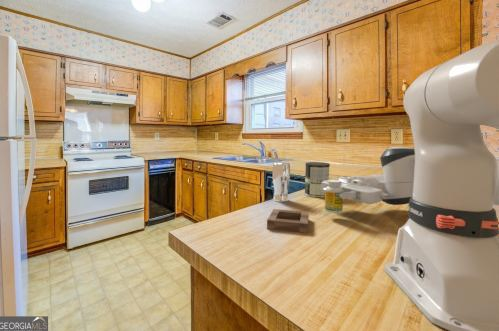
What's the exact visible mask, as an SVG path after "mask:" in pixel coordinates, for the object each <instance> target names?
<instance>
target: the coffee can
mask: <svg viewBox="0 0 499 331" xmlns="http://www.w3.org/2000/svg"><path fill="white" fill-rule="evenodd" d="M330 165H331V164H330V162H329V163H328V162H319V161H317V162H316V161H315V162H314V161H312V162H310V161H309V162H305V178H304V181H305V182H304V195H305V196H306V197H311V198H325V194H324V193H322V191H321V184H322V182H323V181H325V180H330Z"/></svg>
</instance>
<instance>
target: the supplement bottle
mask: <svg viewBox="0 0 499 331" xmlns="http://www.w3.org/2000/svg"><path fill="white" fill-rule="evenodd" d="M328 185H329V186H328V187H326V189H325V197H324V210H325V211H326V212H327V213H332V214H338V213H342V212H343V203H344V202H343V201H344V199H342V198H339V192H343V189H342V188H341V187H340V186H341V181H339V180H330V179H329V180H328Z"/></svg>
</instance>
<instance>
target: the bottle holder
mask: <svg viewBox="0 0 499 331" xmlns="http://www.w3.org/2000/svg"><path fill="white" fill-rule="evenodd" d="M309 214H310V212H309V211H302V210H301V211H300V210H293V209H292V210H291V209H290V210H288V209H277V208H273V209H272V211H271V212H270V215H269V216H268V218H267V220H266V229H268V230H277V231H285V232H286V231H287V232H295V233H296V232H297V233H305V234H307V233H308V228H309Z"/></svg>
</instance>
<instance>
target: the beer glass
mask: <svg viewBox="0 0 499 331" xmlns="http://www.w3.org/2000/svg"><path fill="white" fill-rule="evenodd" d="M290 178H291V163H290V162H289V163H288V162H273V165H272V181H273V190H274V191H273V192H274V193H273V198H272V199H274V200H273V201H274V202H277V203H285V202H288V201H289V195H288V190H289V185H290Z"/></svg>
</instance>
